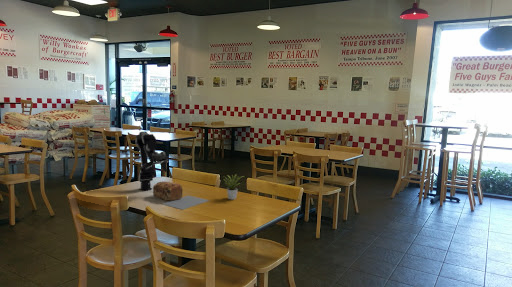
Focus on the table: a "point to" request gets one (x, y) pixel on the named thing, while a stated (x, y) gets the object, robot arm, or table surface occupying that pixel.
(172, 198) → the bread
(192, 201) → the serving mat
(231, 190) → the house plant
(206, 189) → the table surface
